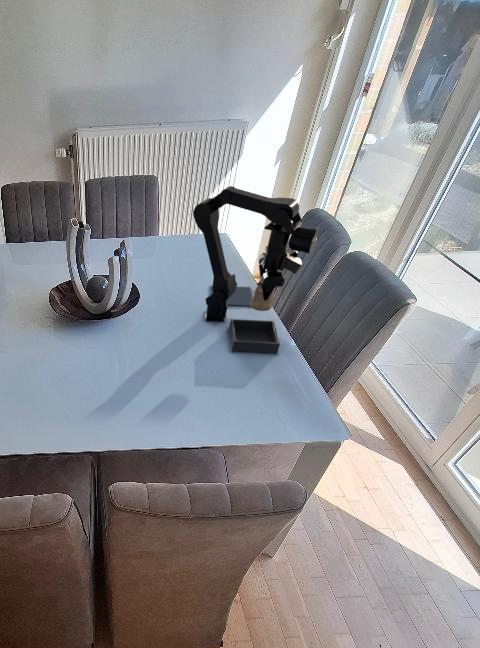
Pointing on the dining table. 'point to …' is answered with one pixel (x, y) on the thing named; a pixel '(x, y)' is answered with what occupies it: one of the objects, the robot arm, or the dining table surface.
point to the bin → (253, 336)
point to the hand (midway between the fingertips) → (264, 294)
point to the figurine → (261, 299)
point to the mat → (239, 297)
